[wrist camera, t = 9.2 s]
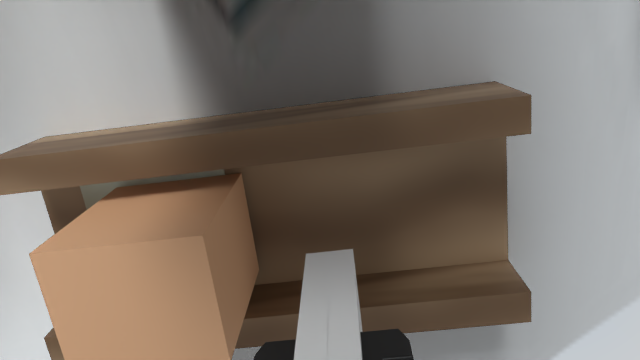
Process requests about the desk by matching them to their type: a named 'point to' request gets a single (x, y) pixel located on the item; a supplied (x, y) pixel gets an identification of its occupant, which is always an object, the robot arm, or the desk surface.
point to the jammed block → (152, 272)
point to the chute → (331, 198)
